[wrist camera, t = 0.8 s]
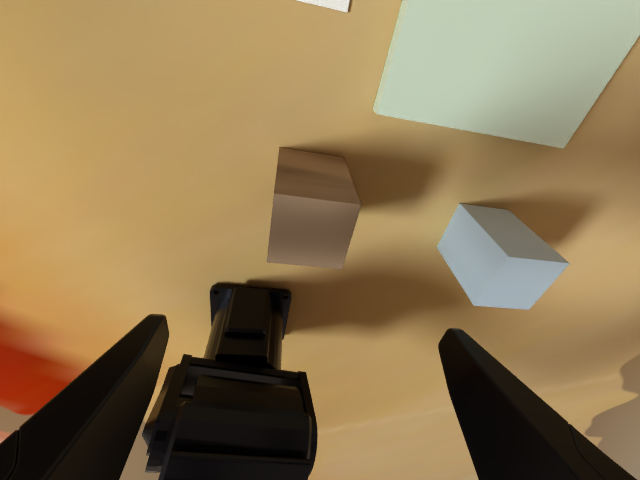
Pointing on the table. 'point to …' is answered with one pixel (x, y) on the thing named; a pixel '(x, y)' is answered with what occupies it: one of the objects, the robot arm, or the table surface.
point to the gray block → (498, 257)
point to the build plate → (505, 64)
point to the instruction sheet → (330, 4)
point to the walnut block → (312, 210)
